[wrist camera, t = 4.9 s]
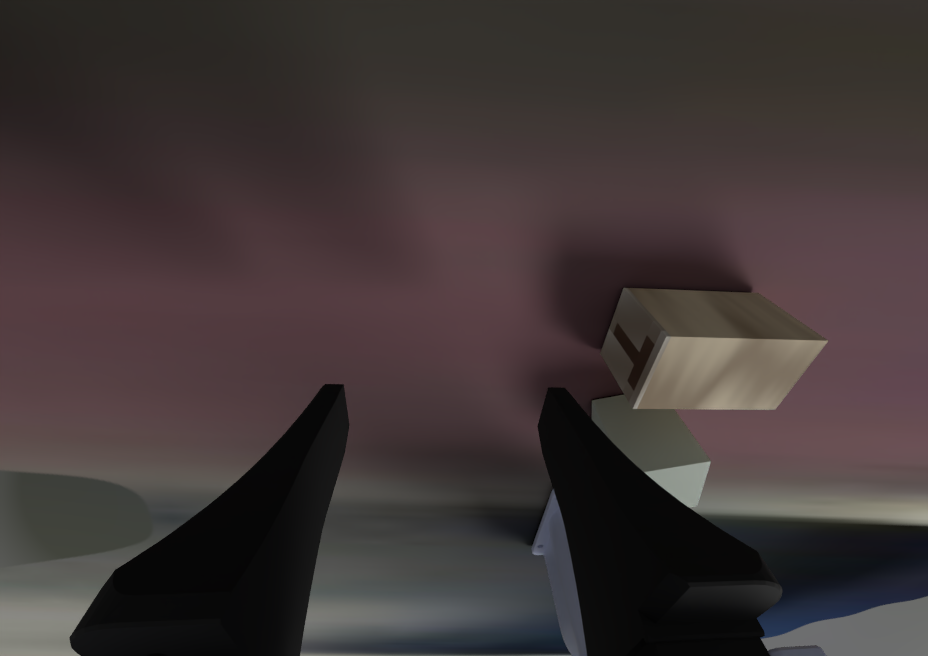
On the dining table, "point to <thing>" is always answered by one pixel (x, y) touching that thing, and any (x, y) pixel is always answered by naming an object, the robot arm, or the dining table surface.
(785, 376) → the maple block
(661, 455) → the sage block
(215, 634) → the robot arm
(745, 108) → the dining table surface
